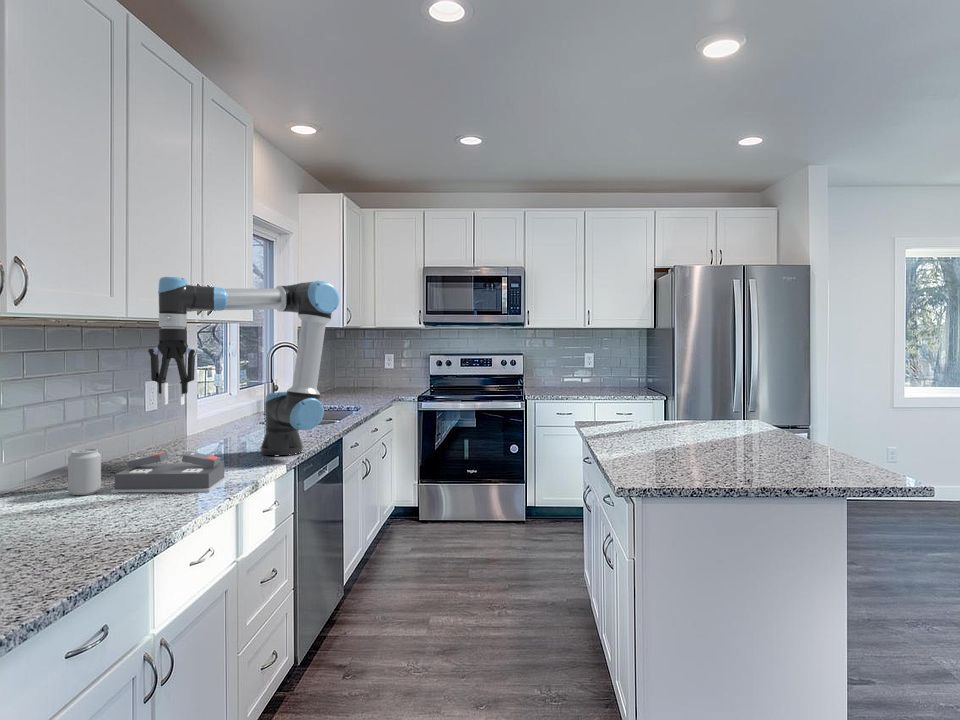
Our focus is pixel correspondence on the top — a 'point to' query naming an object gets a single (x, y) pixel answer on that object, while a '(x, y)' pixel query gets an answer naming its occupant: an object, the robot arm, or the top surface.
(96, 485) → the can
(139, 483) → the power strip
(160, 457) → the rocker
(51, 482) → the top surface
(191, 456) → the block
